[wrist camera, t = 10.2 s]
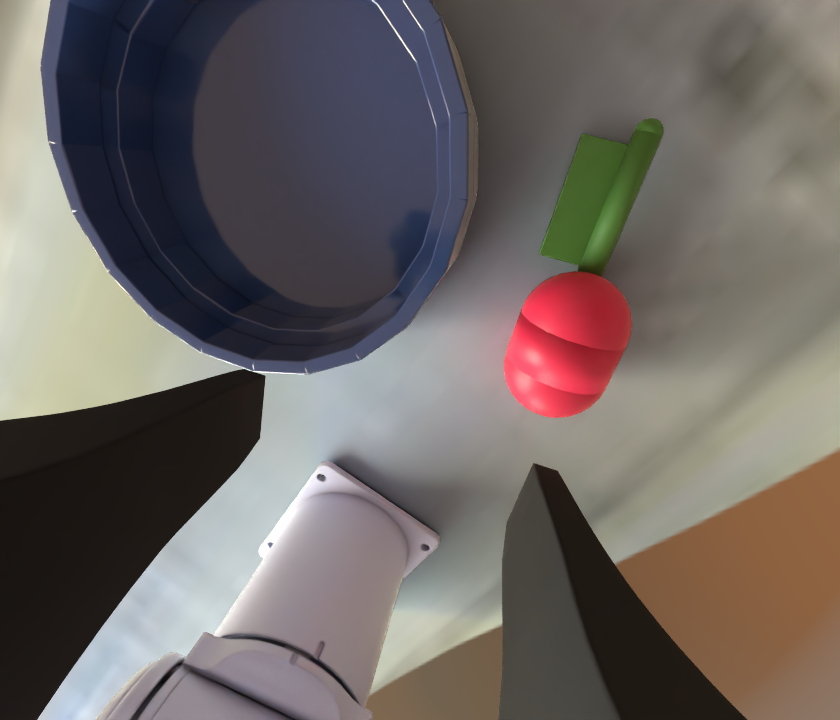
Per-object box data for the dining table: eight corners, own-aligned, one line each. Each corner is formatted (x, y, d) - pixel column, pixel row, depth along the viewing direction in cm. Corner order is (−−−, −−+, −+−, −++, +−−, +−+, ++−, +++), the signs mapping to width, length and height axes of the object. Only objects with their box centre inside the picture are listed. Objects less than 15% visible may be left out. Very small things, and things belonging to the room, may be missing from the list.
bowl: (359, 396, 22) (327, 440, 18) (100, 217, 21) (14, 226, 17) (565, 104, 15) (580, 82, 12) (202, -179, 14) (96, -296, 11)
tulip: (579, 400, 20) (592, 451, 16) (493, 373, 20) (488, 418, 16) (702, 136, 15) (761, 125, 11) (588, 107, 15) (609, 88, 12)
